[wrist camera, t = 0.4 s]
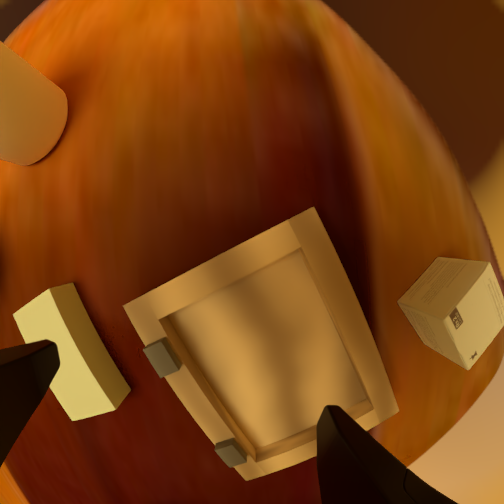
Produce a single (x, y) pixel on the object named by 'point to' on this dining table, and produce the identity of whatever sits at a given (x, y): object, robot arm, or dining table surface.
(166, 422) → the dining table surface
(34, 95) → the alcohol
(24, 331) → the cream rectangular block
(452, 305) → the skincare box
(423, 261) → the dining table surface
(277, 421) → the carcass
